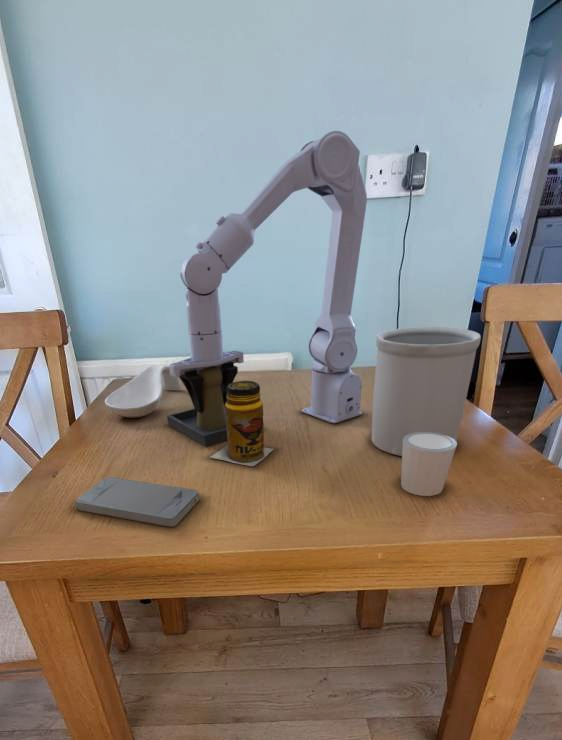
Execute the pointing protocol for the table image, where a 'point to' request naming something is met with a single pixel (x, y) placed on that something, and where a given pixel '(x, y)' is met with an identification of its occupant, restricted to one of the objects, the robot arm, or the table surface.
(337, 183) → the robot arm
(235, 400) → the condiment
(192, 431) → the slate tray
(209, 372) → the pepper mill
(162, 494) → the phone
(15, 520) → the table surface
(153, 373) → the spoon rest
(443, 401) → the utensil holder
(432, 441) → the white cup
